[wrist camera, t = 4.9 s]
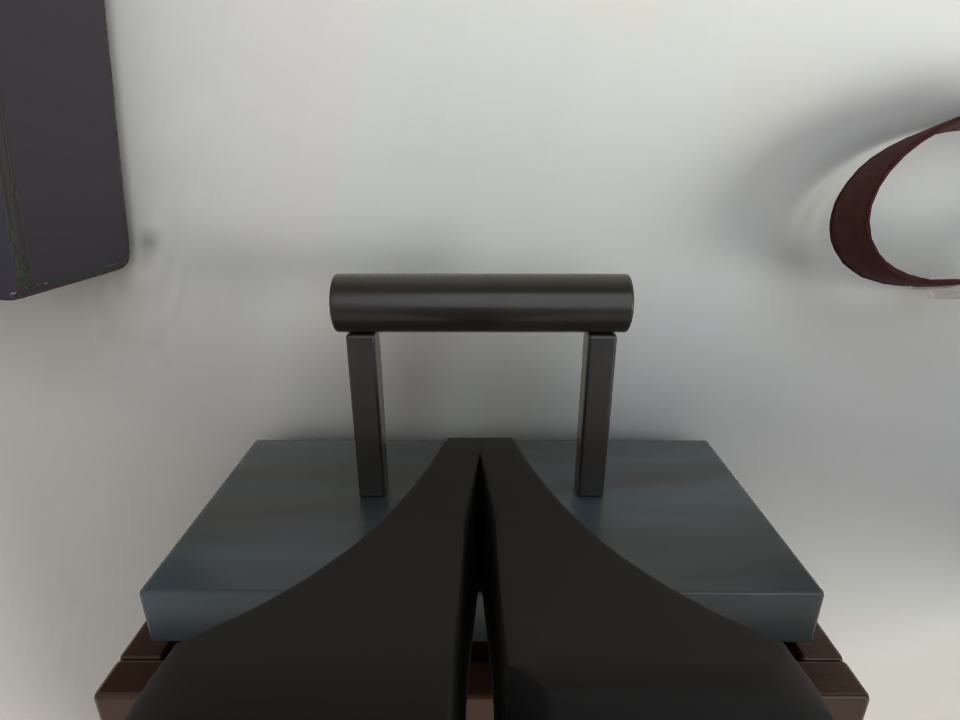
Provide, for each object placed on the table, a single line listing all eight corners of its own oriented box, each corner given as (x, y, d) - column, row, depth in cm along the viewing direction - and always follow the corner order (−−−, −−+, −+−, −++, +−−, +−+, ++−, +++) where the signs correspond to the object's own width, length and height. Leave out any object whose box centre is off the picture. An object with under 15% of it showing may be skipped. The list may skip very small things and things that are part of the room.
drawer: (227, 253, 14) (65, 319, 9) (735, 253, 14) (898, 319, 8) (304, 756, 20) (238, 983, 15) (657, 756, 20) (723, 983, 15)
